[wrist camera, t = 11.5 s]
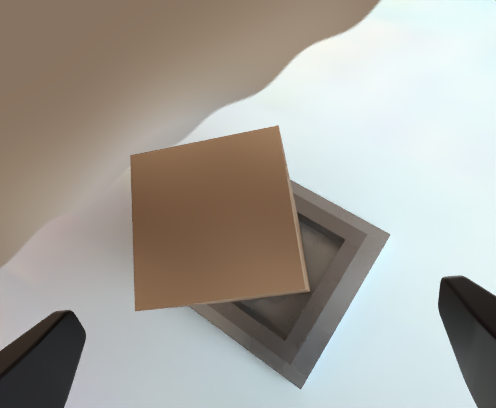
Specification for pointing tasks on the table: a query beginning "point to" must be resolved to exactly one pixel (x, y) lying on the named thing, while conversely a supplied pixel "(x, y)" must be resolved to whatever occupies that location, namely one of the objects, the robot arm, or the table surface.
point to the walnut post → (215, 223)
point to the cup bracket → (310, 303)
